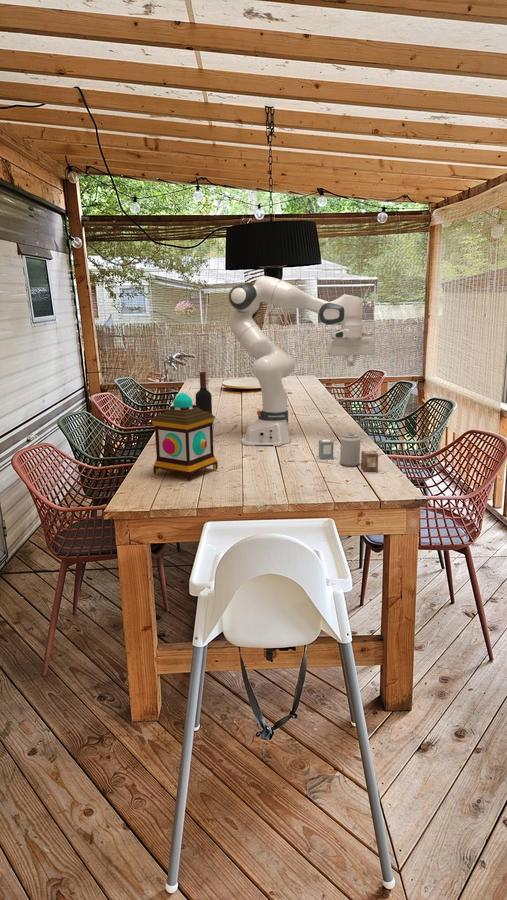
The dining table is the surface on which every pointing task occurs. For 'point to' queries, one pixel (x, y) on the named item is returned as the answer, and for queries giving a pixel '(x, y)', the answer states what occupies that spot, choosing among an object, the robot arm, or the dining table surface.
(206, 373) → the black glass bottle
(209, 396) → the wine bottle
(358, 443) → the can
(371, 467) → the walnut block
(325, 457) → the slate block
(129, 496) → the dining table surface
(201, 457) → the decorative lantern
